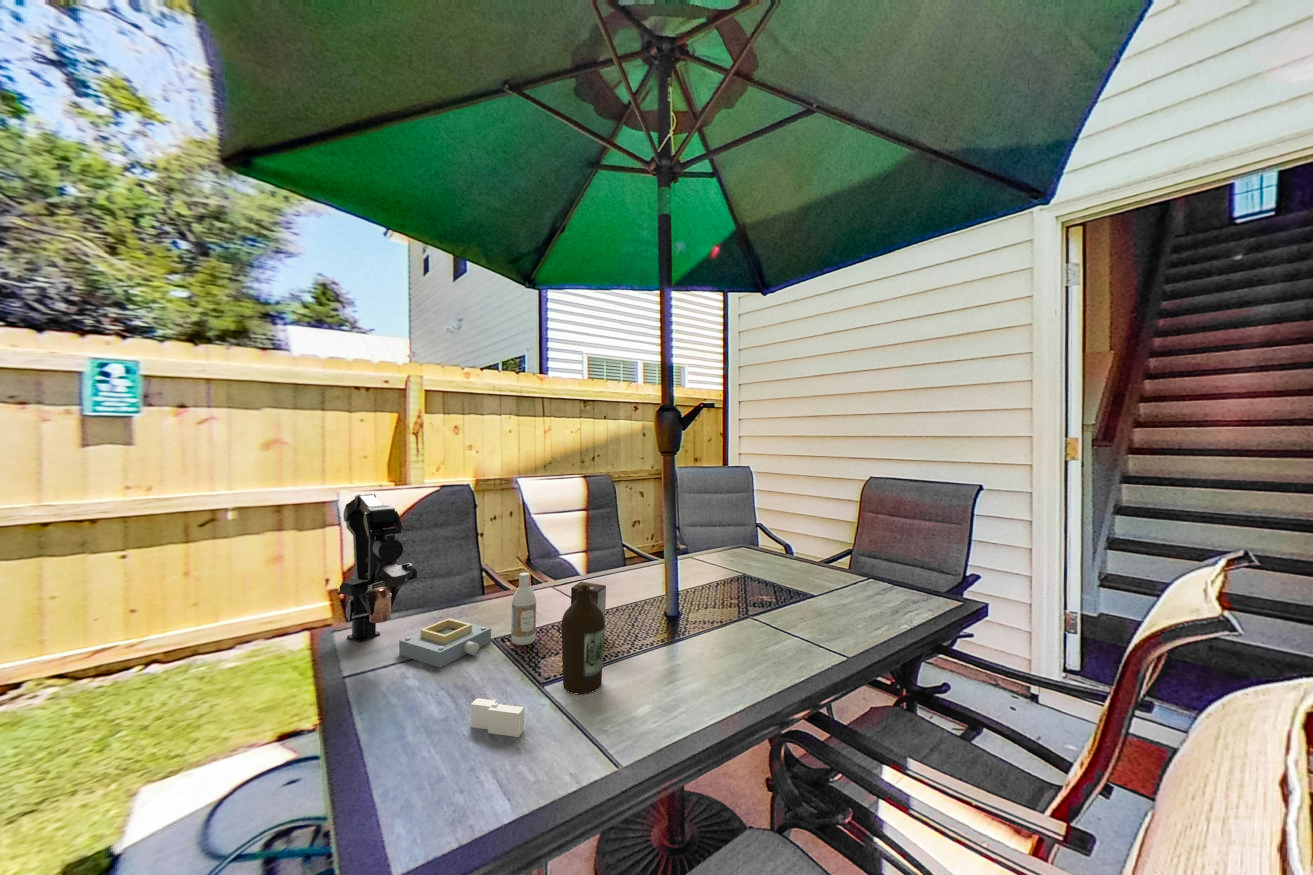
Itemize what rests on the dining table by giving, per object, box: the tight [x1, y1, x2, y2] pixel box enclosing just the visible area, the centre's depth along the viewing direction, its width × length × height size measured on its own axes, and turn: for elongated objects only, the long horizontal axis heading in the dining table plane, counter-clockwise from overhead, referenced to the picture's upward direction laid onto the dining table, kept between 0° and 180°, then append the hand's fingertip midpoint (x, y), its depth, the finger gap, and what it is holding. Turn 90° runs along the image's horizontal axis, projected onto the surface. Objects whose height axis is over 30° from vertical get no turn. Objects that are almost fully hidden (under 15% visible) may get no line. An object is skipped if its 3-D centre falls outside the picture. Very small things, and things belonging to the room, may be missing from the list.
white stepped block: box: [470, 697, 525, 738], centre depth 105 cm, size 15×11×6 cm
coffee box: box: [570, 581, 607, 638], centre depth 149 cm, size 9×6×16 cm
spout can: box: [370, 586, 392, 624], centre depth 133 cm, size 7×5×8 cm
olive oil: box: [560, 581, 606, 695], centre depth 122 cm, size 11×11×25 cm
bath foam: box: [510, 572, 537, 646], centre depth 147 cm, size 7×7×20 cm
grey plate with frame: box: [398, 617, 492, 668], centre depth 141 cm, size 19×18×6 cm
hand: (380, 611), depth 134 cm, fingers closed on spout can, 5 cm apart
